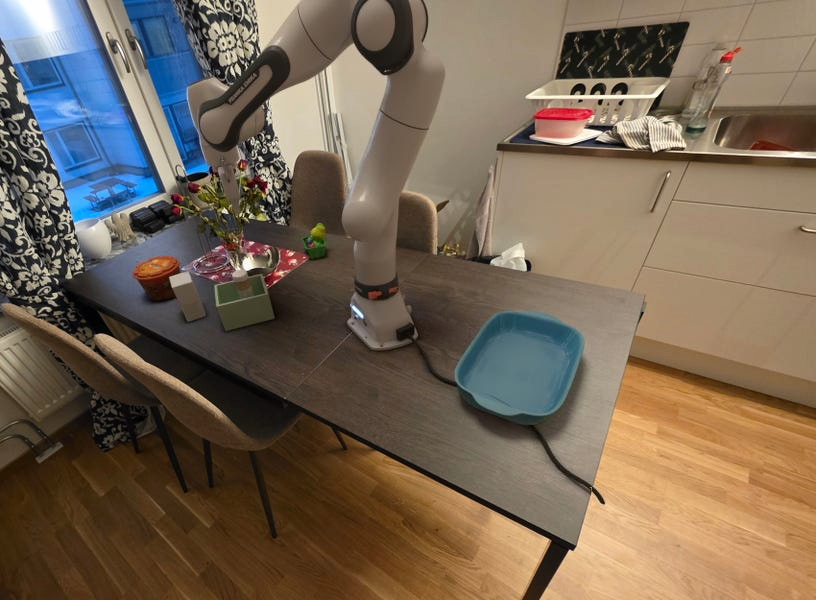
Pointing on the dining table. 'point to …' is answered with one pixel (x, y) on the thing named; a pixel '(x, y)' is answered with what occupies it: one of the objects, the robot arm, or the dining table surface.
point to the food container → (157, 276)
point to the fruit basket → (315, 242)
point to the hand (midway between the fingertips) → (236, 207)
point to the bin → (243, 304)
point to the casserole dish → (520, 366)
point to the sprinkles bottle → (242, 284)
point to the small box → (187, 296)
